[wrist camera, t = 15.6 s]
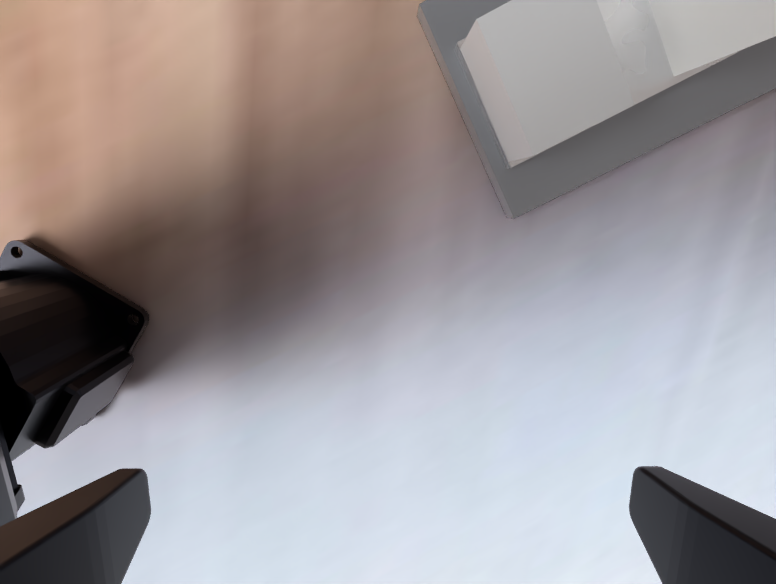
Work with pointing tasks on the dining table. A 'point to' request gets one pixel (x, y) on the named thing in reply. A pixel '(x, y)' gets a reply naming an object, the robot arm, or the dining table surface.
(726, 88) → the rail board
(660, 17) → the block
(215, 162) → the dining table surface
